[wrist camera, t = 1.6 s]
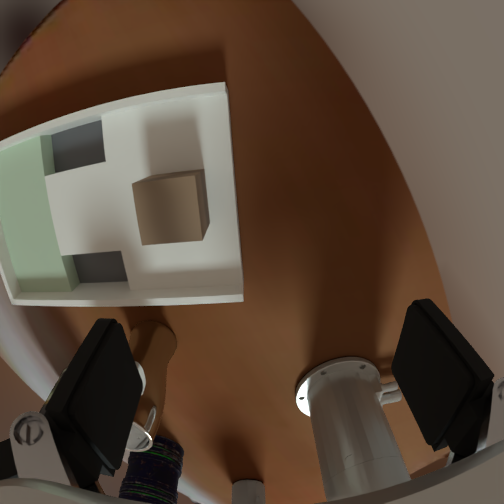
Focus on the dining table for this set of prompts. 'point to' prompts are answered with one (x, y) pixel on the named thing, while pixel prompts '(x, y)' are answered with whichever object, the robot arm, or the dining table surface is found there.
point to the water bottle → (248, 492)
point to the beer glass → (150, 379)
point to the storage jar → (154, 473)
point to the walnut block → (172, 207)
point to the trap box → (118, 204)
